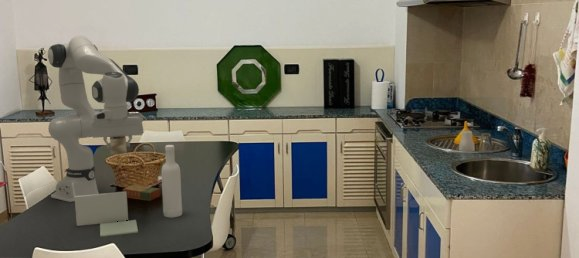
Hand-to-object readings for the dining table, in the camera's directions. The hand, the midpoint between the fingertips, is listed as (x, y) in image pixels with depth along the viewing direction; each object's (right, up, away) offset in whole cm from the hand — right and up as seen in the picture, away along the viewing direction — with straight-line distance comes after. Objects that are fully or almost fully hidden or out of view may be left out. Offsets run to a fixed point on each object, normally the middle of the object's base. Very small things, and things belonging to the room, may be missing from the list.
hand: (118, 147), depth 235 cm
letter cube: (0, -2, 0) cm, 2 cm away
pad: (+1, -32, -4) cm, 33 cm away
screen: (-8, -31, +4) cm, 32 cm away
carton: (-1, -25, +40) cm, 47 cm away
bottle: (+19, -29, +13) cm, 37 cm away
